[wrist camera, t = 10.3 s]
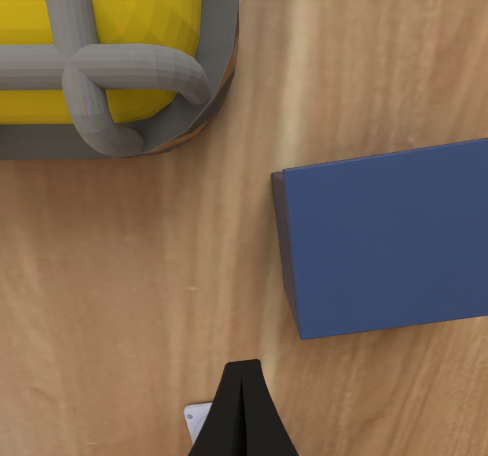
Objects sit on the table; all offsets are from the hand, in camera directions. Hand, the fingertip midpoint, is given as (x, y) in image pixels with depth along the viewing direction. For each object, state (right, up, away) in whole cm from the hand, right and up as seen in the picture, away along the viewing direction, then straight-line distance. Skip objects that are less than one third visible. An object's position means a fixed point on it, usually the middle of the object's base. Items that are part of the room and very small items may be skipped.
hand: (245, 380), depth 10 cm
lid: (+10, +5, +4) cm, 12 cm away
